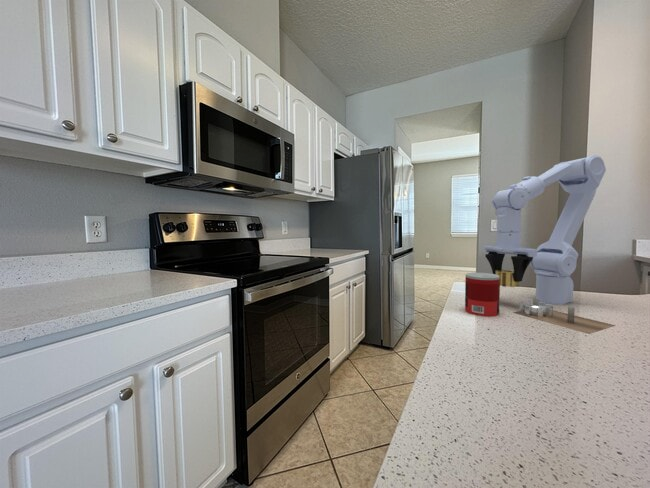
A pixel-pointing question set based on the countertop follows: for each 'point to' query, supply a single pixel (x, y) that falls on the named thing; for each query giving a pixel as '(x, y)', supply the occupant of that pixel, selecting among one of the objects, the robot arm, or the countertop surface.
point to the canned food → (482, 294)
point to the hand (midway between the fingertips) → (507, 279)
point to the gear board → (571, 320)
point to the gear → (536, 309)
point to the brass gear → (506, 278)
